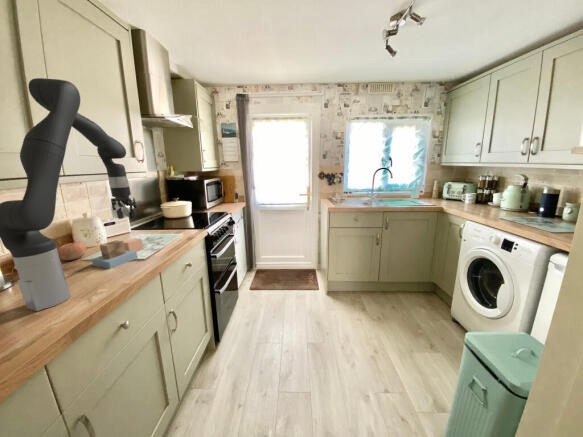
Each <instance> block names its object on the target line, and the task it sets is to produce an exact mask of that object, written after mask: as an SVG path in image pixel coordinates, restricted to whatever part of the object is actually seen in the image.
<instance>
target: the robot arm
mask: <svg viewBox="0 0 583 437" xmlns="http://www.w3.org/2000/svg"><path fill="white" fill-rule="evenodd" d="M27 88H28V91H29V94H30V96H31V97H32V99H33V101H35V102H36V103H37V104H39V105H40V106H41V107H42V108H44V109H45V110H47V111H49V112H48V114H47V115H46V116H45V117H44V118H43V119H41V120H40V121H39V122H38V123H37V124H36V125H34V126H33V127H32V128H31V129H30V130H29V131H28V132H27V133H26V134H25V136H24V138H23V142H22V144H21V148H20V151H19V158H20V163H21V166H22V168H23V170H24V172H25V175H26V178H27V184H26V188H25V192H24V194H23V195H24V196H23V197H22V199H17V200H13V199H12V200H7V201H3V202H0V240H1V243H2V245H3V246H4V248H5V249H6V250H7V251H9V252H10V254H11V256H12V260H13V262H14V266H15V268H16V271H17V275H18V276H19V278H18V279H17V285H18V287H19V290H20V293H21V296H22V298H23V301H24V305H25V307H26V309H29V310H31V311H33V312H34V311H35V312H39V311H42V310H45V309H48V308H51V307H54V306H55V307H56V306H57V305H60V304H62V303H63V302H65V301H67V300H69V298H70V297H71V293H70V289H69V286H68V282H67V279H66V275H65V272H64V269H63V265H62V263H61V259H60V258H59V255H58V251H57V249H58V248H57V245H56V242H55V240H54V239H52V238H51V237H48V236H46V235H44V234H43V233H41V231H42V230H45V229H46V228H48V227H49V226H50V225H51V224H52V222H53V221H54V219H55V214H56V203H57V190H58V184H59V181H60V175H61V171H62V166H63V163H64V159H65V156H66V152H67V145H68V140H69V137H70V132H71V130H72V128H73V129H74V130H76V131H77V132H78V133H79V134H81V135H82V136H83V137H85V138H86V140H87V141H89V142H90V143H91V144H92V145H93V146H94V147H97V148H96V150H97V151H96V152H97V154H98V156H99V158H100V159H101V161H102V163H103V165H104V166H105V168H106V173H107V176H108V185H109V190H110V193H111V196H112V197H111V198H110V203H111V208H112V210H113V211H115V213H116V215H117V218H118V219H119V220H122V219H124V214H123V209H125V210H127V212H128V215H129V220H130V221H131V220H135V219H136V214H135V212H136V211H137V210H138V208H137V203H136V199H135V198H134V197H132V198H130V196H132V195H131V194H132V192H131V188H130V183H129V180H128V178H127V172H126V168H125V165H123V164H121V163H116V162H114V159H115V160H117V159H123V158H125V157H126V155H127V149H126V147H125V145H123V144H122V143H121V142H120V141H119V140H116V139H115V138H114V137H112V136H111V135H109V134H108V133H106V131H105V130H104V129H103V128H102V127H101V126H100V125H98V124H97V122H95V121H93V120H91V119H89V118H88V117H86V116H84V115H82V114H81V113H79V112H78V111H79V108H80V107H81V95H80V92H79V90H78V88H77V86H76V85H75V84H73V83H72V82H70V81H67V80H66V79H65V80H64V79H57V78H46V77H45V78H44V77H43V78H41V77H37V78H36V77H35V78H32V79H31V80H30V81H29V83H28V87H27Z"/></svg>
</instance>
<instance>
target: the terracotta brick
mask: <svg viewBox="0 0 583 437" xmlns="http://www.w3.org/2000/svg"><path fill="white" fill-rule="evenodd" d="M123 242H124V246H125V251H133V252H136V253H138V252H141V251H143V250H144V246H143V240H142V238H137V237H134V238H131V239H127V240H123ZM142 249H143V250H142ZM140 250H141V251H140ZM137 251H138V252H137Z"/></svg>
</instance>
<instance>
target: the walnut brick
mask: <svg viewBox="0 0 583 437" xmlns="http://www.w3.org/2000/svg"><path fill="white" fill-rule="evenodd" d="M99 248H100V253H101V256H102V257H103V258H106V259H112V258H114V257H117V256H120V255H123V254H125V253H126V251H125V246H124V240H118V239H117V240H112V241H109V242H106V243H102V244H99Z"/></svg>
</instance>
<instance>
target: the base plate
mask: <svg viewBox="0 0 583 437" xmlns="http://www.w3.org/2000/svg"><path fill="white" fill-rule="evenodd" d="M137 253H138V252H133V251H126V253H125V254H123V255H120V256H117V257H114V258H112V259H106V258H103V257H102V255H100V256H97V257H94V258H91V263H92V266H94V267H97V268H98V267H99V268H105V269H109V270H110V269H113V268H115V267H118V266H121V265H124V264H126V263H129V262H130V261H134V260H135V259H138V254H137Z"/></svg>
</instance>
